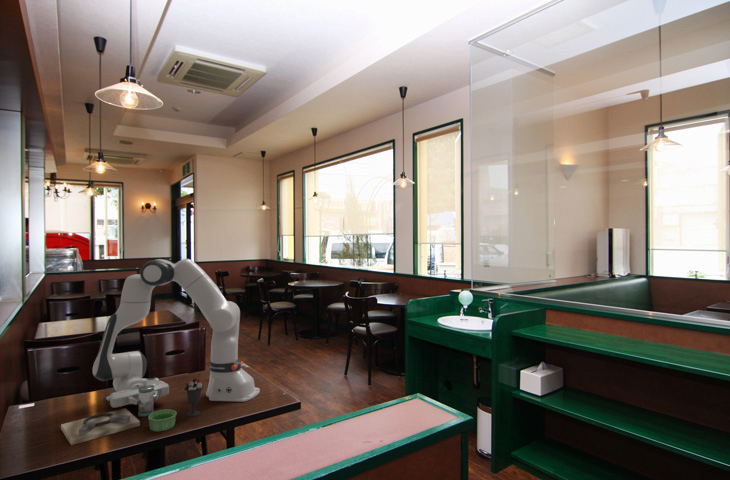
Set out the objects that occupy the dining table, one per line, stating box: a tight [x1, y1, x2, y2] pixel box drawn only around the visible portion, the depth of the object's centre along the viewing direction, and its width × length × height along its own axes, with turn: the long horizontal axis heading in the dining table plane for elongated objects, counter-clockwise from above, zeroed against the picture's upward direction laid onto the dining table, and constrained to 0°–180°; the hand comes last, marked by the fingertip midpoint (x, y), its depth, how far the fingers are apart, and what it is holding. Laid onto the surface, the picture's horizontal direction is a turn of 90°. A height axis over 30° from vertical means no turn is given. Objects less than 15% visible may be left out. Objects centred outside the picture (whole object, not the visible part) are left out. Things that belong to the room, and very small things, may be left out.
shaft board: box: [60, 408, 141, 446], centre depth 142 cm, size 20×16×4 cm
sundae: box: [183, 375, 205, 418], centre depth 154 cm, size 7×7×15 cm
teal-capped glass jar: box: [137, 385, 155, 418], centre depth 153 cm, size 5×5×10 cm
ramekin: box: [147, 408, 177, 432], centre depth 143 cm, size 9×9×4 cm
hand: (147, 400), depth 152 cm, fingers closed on teal-capped glass jar, 5 cm apart
